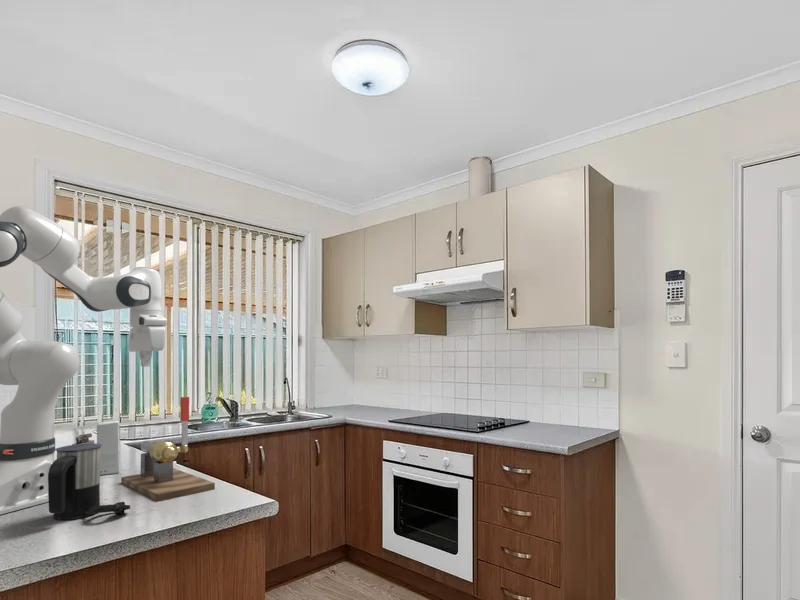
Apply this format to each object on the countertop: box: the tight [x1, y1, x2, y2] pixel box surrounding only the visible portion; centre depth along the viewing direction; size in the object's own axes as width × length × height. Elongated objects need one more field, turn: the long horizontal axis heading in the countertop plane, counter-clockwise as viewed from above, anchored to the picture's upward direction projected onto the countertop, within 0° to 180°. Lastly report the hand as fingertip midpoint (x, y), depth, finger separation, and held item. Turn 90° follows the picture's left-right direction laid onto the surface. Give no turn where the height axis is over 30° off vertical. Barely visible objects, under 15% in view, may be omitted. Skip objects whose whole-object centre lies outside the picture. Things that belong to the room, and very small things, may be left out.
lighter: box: [71, 432, 95, 445], centre depth 170 cm, size 8×3×10 cm, turn 171°
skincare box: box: [96, 420, 121, 476], centre depth 161 cm, size 8×6×15 cm
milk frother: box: [48, 442, 131, 521], centre depth 118 cm, size 14×16×15 cm
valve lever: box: [179, 396, 190, 454], centre depth 146 cm, size 2×2×15 cm
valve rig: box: [120, 440, 216, 502], centre depth 142 cm, size 27×14×12 cm, turn 44°
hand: (145, 366), depth 162 cm, fingers closed
